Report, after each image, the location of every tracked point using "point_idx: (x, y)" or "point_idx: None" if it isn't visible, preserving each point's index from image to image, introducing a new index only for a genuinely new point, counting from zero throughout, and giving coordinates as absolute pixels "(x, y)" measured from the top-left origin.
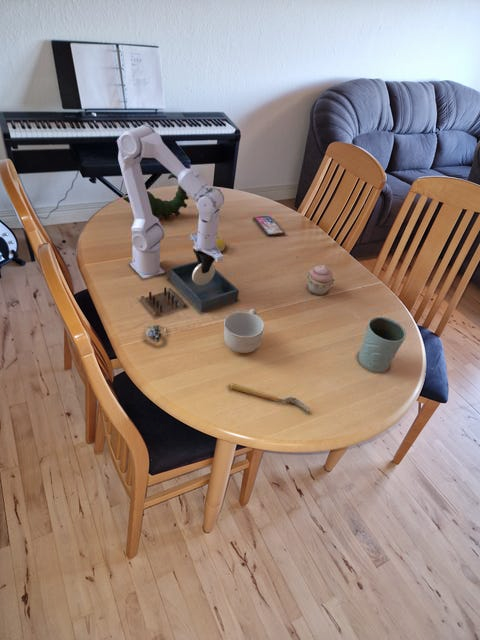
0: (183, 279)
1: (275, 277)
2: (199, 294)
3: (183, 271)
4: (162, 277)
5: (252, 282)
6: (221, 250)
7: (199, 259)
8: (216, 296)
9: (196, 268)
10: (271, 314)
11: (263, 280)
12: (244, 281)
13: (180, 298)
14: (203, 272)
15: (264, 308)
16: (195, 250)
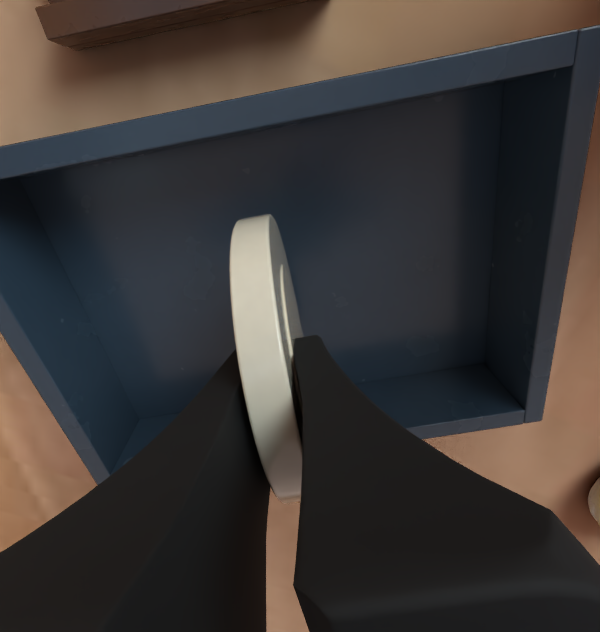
0: (440, 187)
1: (288, 600)
2: (217, 236)
3: (514, 215)
4: (571, 8)
5: (279, 526)
6: (591, 507)
7: (304, 442)
8: (15, 333)
9: (250, 304)
10: (11, 512)
11: (281, 563)
12: (298, 503)
13: (139, 19)
14: (227, 358)
15: (60, 504)
16: (455, 626)
